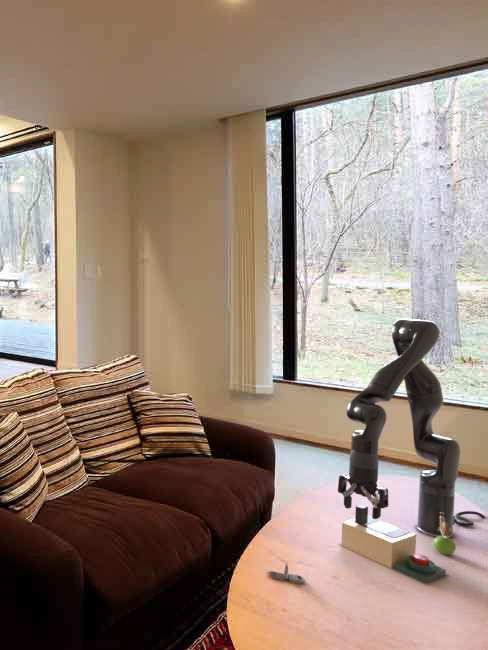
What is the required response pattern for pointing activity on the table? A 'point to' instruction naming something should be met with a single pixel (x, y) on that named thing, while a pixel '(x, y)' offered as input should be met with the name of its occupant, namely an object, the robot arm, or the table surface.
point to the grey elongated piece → (290, 576)
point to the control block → (420, 570)
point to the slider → (361, 514)
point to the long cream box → (378, 541)
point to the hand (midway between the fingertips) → (361, 513)
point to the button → (420, 559)
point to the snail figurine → (444, 539)
